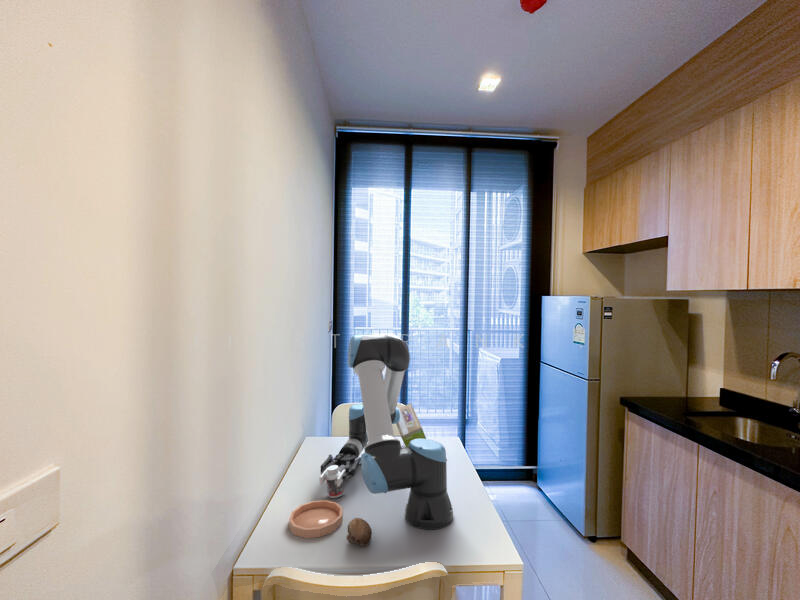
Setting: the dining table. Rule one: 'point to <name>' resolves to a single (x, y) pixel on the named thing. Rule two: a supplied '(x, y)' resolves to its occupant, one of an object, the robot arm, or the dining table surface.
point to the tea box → (409, 425)
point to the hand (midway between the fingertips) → (329, 481)
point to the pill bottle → (333, 482)
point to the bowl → (316, 519)
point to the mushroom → (359, 532)
